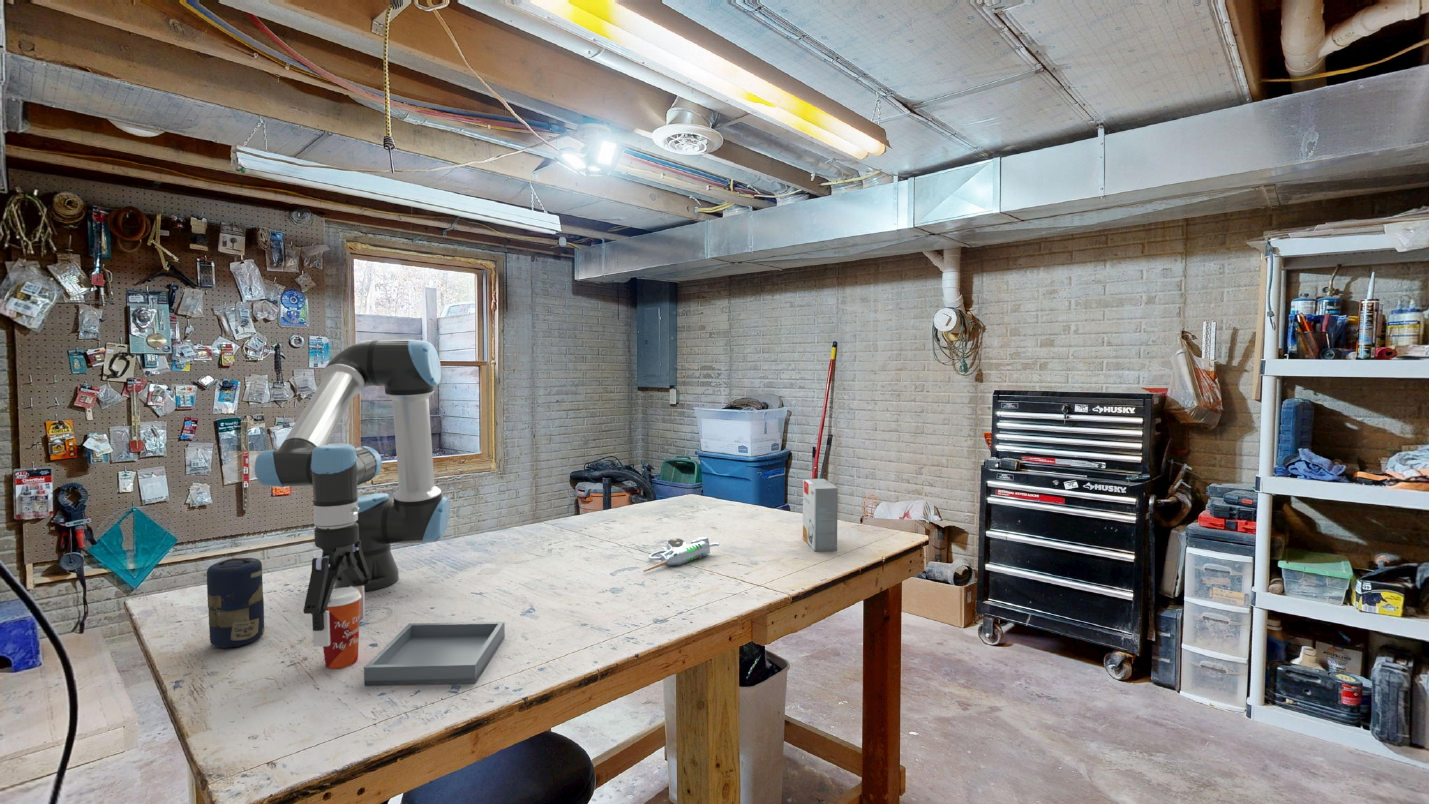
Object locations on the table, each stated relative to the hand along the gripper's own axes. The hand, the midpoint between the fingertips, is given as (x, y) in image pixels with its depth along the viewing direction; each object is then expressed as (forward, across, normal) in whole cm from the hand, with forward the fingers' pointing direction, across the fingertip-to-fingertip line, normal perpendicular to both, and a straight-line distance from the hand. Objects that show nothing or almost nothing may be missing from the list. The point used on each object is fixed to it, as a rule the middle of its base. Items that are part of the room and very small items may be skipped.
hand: (340, 630), depth 130 cm
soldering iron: (+7, +64, -63) cm, 90 cm away
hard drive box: (+6, +77, -111) cm, 135 cm away
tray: (+6, 0, -19) cm, 20 cm away
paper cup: (+7, 0, 0) cm, 7 cm away
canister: (+7, +11, +27) cm, 30 cm away
